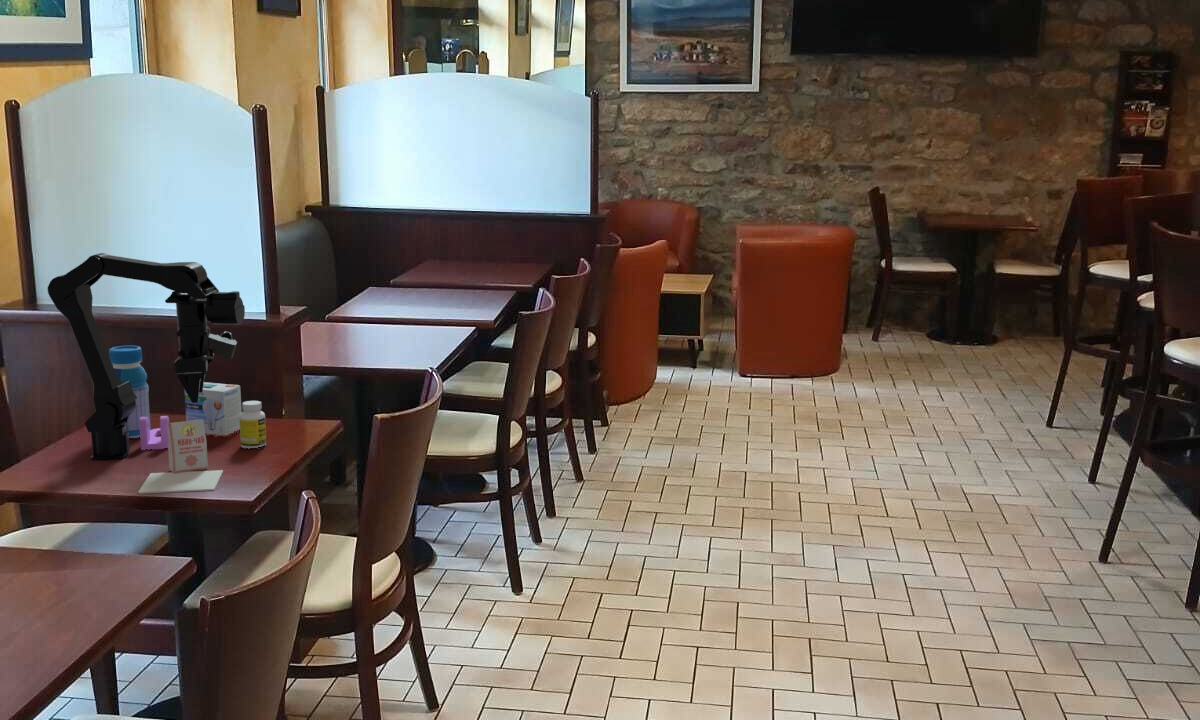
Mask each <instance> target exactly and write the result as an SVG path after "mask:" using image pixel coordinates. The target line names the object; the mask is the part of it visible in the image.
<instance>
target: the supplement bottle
mask: <svg viewBox="0 0 1200 720" xmlns="http://www.w3.org/2000/svg"><path fill="white" fill-rule="evenodd" d="M241 409H242V411H241V412H242V413H241V414H240V416H239V419H240V432H239V437H240V439H239V440H240V446H241V448H243V449H246V448H248V450H250V448H257V449H259V448H258V447H262V446H264V445H265V446H266V445H267V431H266V430H267V428H266V414H265V412H264V411H262V401H259V400H246V401H243V402H241ZM265 446H264V447H265ZM262 448H263V447H262Z"/></svg>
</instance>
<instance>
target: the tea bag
mask: <svg viewBox="0 0 1200 720" xmlns="http://www.w3.org/2000/svg"><path fill="white" fill-rule="evenodd" d="M207 447H208V445H207V435H205V428H204V420H203V419H201V420H192V421H186V420H183V421H174V422H169V428H168V450H167V451H168V465H169V471H170V472H173V473H180V472H190V471H205V470H208V469H209V466H208V465H209V463H208V448H207Z"/></svg>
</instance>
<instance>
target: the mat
mask: <svg viewBox="0 0 1200 720" xmlns="http://www.w3.org/2000/svg"><path fill="white" fill-rule="evenodd" d="M223 473H224V470H223V469H217V470H196V471H188V472H180V473H173V472H172V471H169V472H151V473H149V475H148V477H147V478H146V480H145V481H144V482H143V484H142V485H141V486H140V488H139V490H138V492H137V494H142V495H144V494H158V493H159V494H161V493H162V494H164V493H185V492H205V491H215V490H216V489H217V486H218V484H219V481H220V479H221V477H222V474H223Z"/></svg>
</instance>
